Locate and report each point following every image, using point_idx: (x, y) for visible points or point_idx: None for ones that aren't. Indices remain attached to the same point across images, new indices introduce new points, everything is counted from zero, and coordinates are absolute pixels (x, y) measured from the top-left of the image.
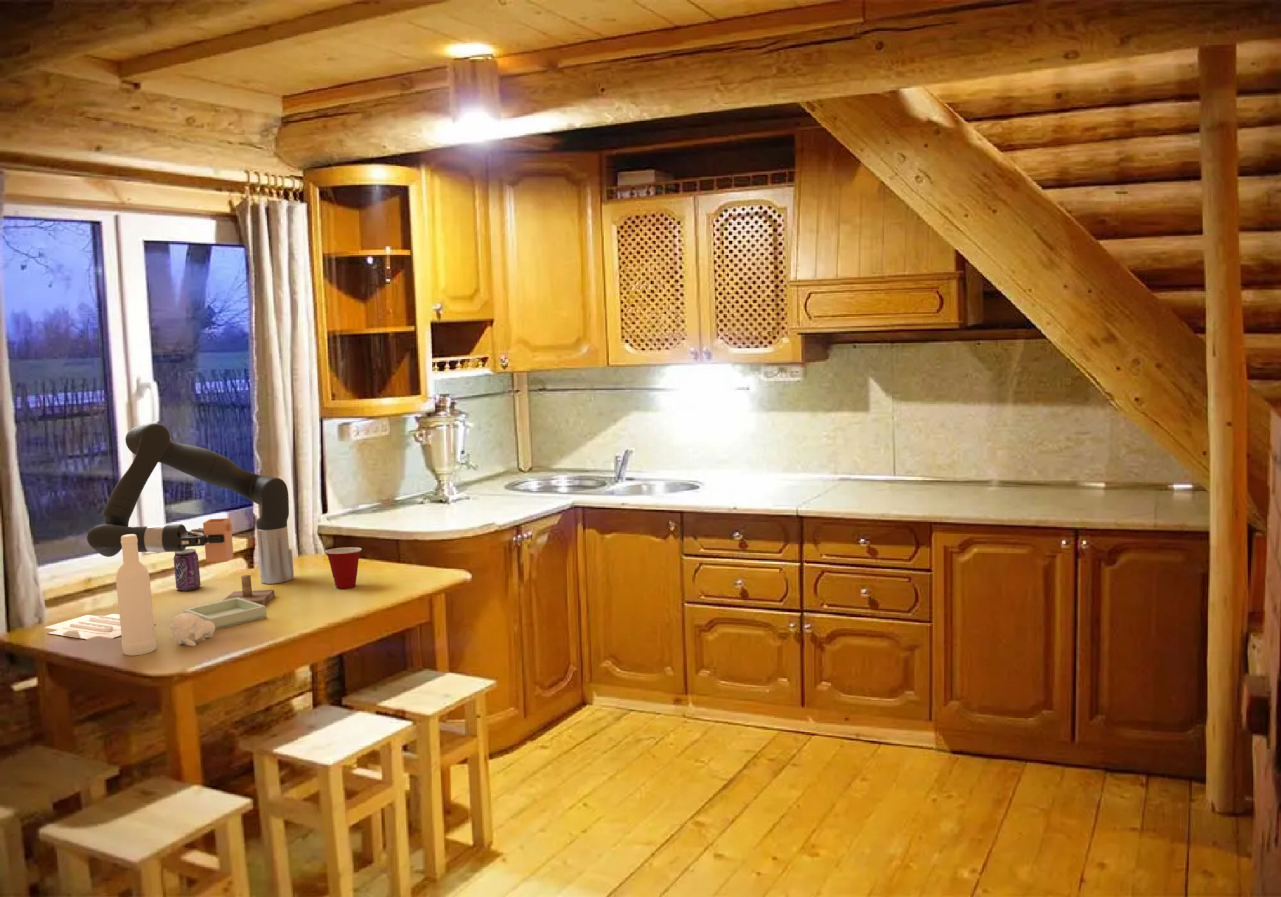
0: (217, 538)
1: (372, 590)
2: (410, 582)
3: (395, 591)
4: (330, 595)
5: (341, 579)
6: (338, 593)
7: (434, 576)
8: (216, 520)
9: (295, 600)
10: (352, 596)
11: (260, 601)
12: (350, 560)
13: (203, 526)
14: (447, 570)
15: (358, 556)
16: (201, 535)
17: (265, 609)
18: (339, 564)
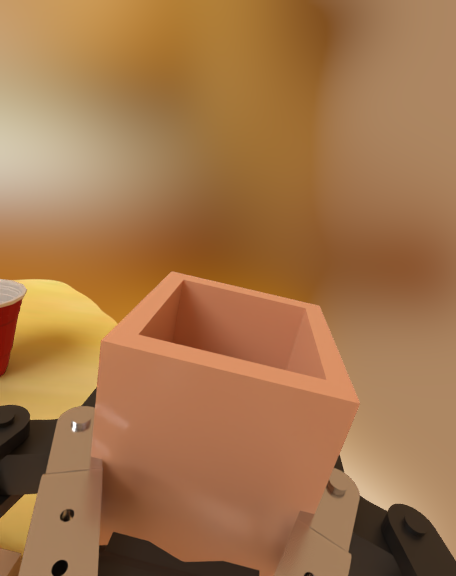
0: None
1: (61, 348)
2: (51, 312)
3: (98, 331)
4: (37, 399)
5: (2, 358)
6: (32, 387)
7: (40, 293)
8: (155, 325)
9: None
10: (83, 373)
11: (16, 562)
12: (19, 309)
13: (343, 438)
14: (17, 280)
15: (6, 296)
16: (350, 540)
17: None
18: (7, 327)
